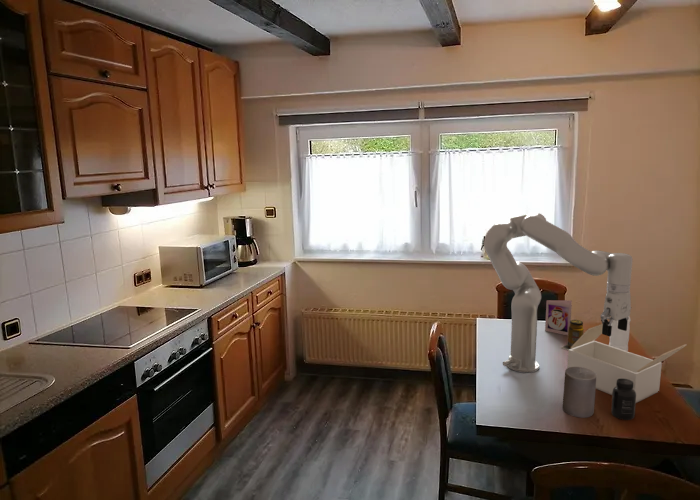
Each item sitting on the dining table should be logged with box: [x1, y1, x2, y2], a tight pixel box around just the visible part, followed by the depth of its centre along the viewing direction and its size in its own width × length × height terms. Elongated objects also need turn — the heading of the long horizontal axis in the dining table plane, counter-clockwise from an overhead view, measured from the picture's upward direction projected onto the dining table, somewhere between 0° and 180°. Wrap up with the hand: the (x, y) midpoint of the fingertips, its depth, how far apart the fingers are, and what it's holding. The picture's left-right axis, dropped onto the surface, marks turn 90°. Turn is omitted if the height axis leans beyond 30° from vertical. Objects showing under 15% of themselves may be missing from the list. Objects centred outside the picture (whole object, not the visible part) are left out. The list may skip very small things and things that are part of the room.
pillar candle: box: [562, 367, 597, 419], centre depth 172 cm, size 10×10×15 cm
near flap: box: [637, 343, 688, 372], centre depth 175 cm, size 15×12×1 cm
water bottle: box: [608, 316, 631, 352], centre depth 210 cm, size 7×7×25 cm
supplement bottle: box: [610, 378, 637, 421], centre depth 169 cm, size 7×7×12 cm
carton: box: [566, 340, 663, 404], centre depth 191 cm, size 16×26×11 cm, turn 32°
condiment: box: [561, 319, 585, 351], centre depth 225 cm, size 7×8×12 cm
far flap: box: [571, 323, 603, 349], centre depth 196 cm, size 15×12×1 cm
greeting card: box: [544, 299, 573, 336], centre depth 244 cm, size 11×7×15 cm, turn 50°
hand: (614, 332), depth 190 cm, fingers open, 9 cm apart
